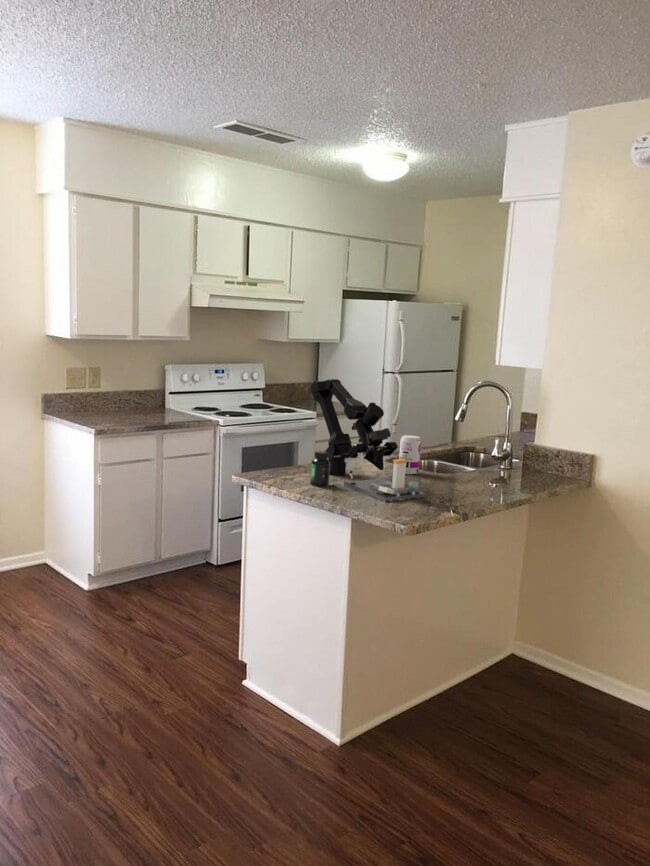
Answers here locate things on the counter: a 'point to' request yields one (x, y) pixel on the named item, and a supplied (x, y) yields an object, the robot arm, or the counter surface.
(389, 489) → the rocker switch
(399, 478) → the slide paddle
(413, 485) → the push button
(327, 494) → the counter surface
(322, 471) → the supplement bottle
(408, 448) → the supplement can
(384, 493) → the console
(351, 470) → the toggle lever
